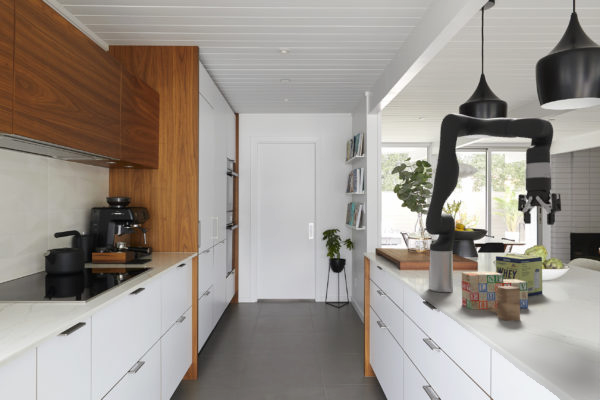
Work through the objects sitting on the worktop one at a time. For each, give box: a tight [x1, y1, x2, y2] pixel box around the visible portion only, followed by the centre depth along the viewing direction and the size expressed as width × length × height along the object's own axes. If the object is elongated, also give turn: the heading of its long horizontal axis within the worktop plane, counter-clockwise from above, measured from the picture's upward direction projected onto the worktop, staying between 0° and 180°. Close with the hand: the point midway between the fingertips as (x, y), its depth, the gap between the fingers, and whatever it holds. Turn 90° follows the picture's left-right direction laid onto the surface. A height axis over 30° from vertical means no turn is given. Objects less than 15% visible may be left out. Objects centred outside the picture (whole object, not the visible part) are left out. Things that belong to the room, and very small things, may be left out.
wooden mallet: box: [487, 286, 521, 322], centre depth 126 cm, size 10×5×10 cm, turn 18°
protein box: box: [495, 253, 543, 298], centre depth 159 cm, size 10×16×16 cm
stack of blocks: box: [461, 271, 529, 310], centre depth 139 cm, size 21×6×12 cm, turn 95°
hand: (538, 224), depth 131 cm, fingers open, 8 cm apart
